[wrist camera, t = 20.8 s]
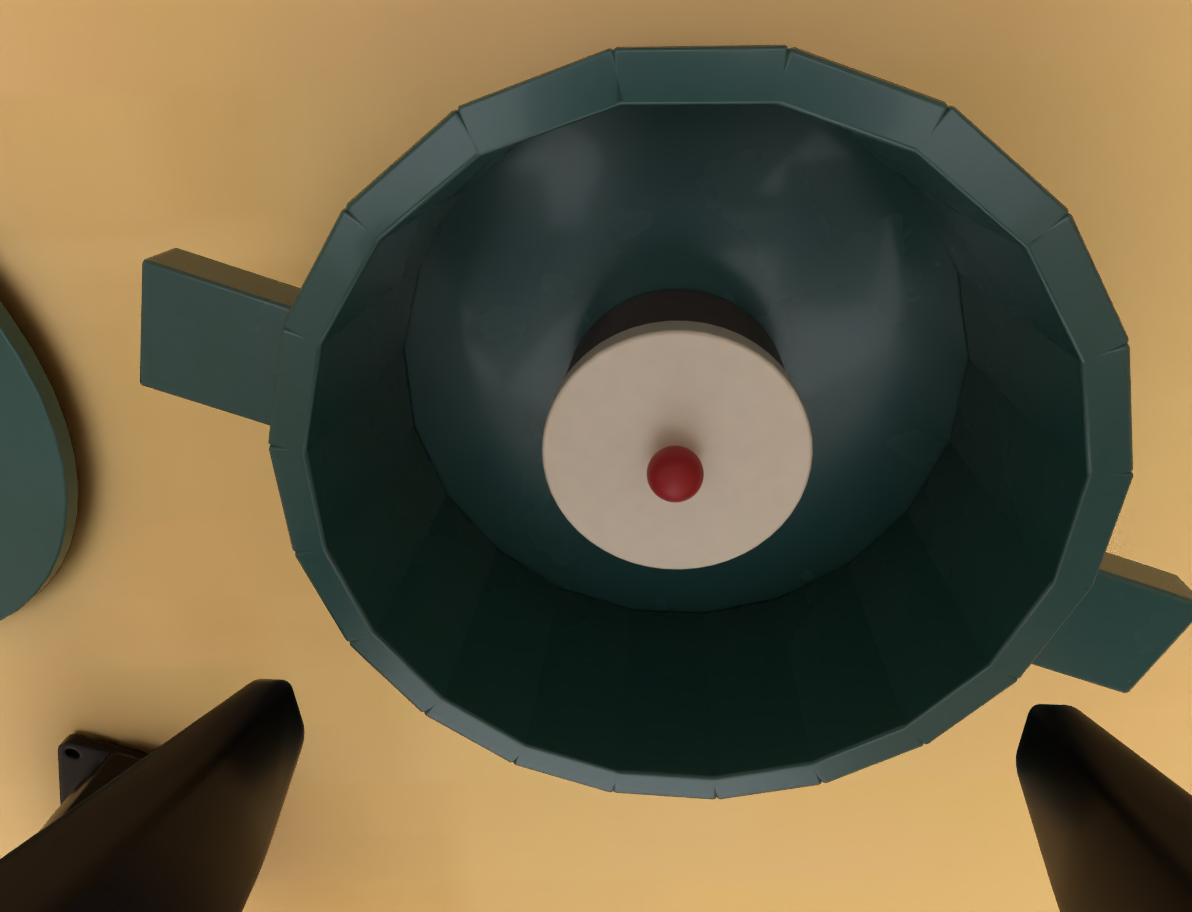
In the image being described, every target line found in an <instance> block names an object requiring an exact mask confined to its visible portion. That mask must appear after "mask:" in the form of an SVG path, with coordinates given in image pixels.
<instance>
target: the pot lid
mask: <svg viewBox="0 0 1192 912" xmlns="http://www.w3.org/2000/svg"><path fill="white" fill-rule="evenodd" d="M77 504H78V482H77V472H76V462H75V456H74V452H73V448H72V444H71V440H70V436H69V432H68V428H67V424H66V421H65V419H64V416H63V413H62V411H61V408H60V406H59V403H58V400H57V398H56V395H55V392H54V390H53V387H52V386H51V384H50V382H49V380H48V378H47V376H46V374H45V372H44V370H43V368H42V366H41V364H40V362H39V360H38V358H37V356H36V354H35V353H34V351H33V349H32V348H31V346H30V344H29V343H28V341H27V340H26V338H25V337H24V335H23V334H22V332H21V331H20V329H19V327H18V326H17V324H16V323H15V321H14V320H13V318H12V317H11V315H10V314H9V312H8V311H7V310H6V308H5V307H4V306H3V304H2V303H1V302H0V621H1V620H2V619H4V618H6V617H7V616H9V615H11V614H12V613H14V612H16V611H17V610H19V609H20V608H21V607H23V606H24V605H25V604H26V603H27V602H29V601H30V600H31V599H32V598H33V597H34V596H35V595H36V594H38V593H39V592H40V591H41V590H42V589H43V588H44V587H45V586H46V585H47V584H48V582H49V581H50V580H51V578H52V577H53V576H54V574H55V573H56V572H57V570H58V569H59V568H60V566H61V564H62V561H63V559H64V557H65V555H66V553H67V551H68V548H69V546H70V544H71V540H72V536H73V531H74V527H75V523H76V519H77Z"/></svg>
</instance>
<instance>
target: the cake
mask: <svg viewBox="0 0 1192 912" xmlns="http://www.w3.org/2000/svg"><path fill="white" fill-rule="evenodd" d="M812 456H813V441H812V433H811V427H810V422H809V419H808V416H807V413H806V410H805V407H804V404H803V402H802V399H801V397H800V394H799V392H798V390H797V389H796V387H795V385H794V383H793V381H792V379H791V378H790V377H789V375H788V374H787V373H786V371H785V369H784V366H783V363H782V360H781V358H780V355H779V352H778V350H777V348H776V347H775V345H774V343H773V341H772V339H771V338H770V336H769V335H768V334H767V332H766V331H765V330H764V328H763V327H762V326H761V325H760V324H759V323H758V322H757V321H756V320H755V319H754V318H753V317H752V316H750V315H749V314H748V313H747V312H745V311H744V310H743V309H741V308H740V307H738V306H736V305H734V304H733V303H731V302H729V301H727V300H725V299H722V298H720V297H717V296H715V295H711V294H707V293H704V292H700V291H692V290H663V291H655V292H651V293H647V294H643V295H639V296H637V297H634V298H632V299H629V300H627V301H625V302H623V303H621V304H619V305H618V306H616V307H614V308H612V309H611V310H610V311H608V312H607V313H606V314H605V315H603V316H602V317H601V318H600V319H599V320H598V321H597V322H596V323H595V324H594V325H593V326H592V327H590V329H589V330H588V331H587V333H586V334H585V335H584V337H583V338H582V339H581V341H580V343H579V345H578V346H577V348H576V350H575V352H574V355H573V357H572V360H571V362H570V365H569V368H568V371H567V374H566V376H565V378H564V379H563V381H562V383H561V384H560V386H559V388H558V390H557V391H556V394H555V396H554V399H553V401H552V404H551V406H550V409H549V412H548V415H547V418H546V422H545V427H544V431H543V440H542V460H543V467H544V472H545V477H546V480H547V483H548V486H549V489H550V491H551V494H552V496H553V498H554V499H555V501H556V503H557V505H558V507H559V508H560V510H561V511H562V513H563V514H564V515H565V517H566V518H567V520H568V521H569V522H570V523H571V524H572V525H573V526H574V527H575V528H576V529H577V531H578V532H580V533H581V534H582V535H583V536H584V537H586V538H587V539H588V540H589V541H590V542H592V543H593V544H595V545H596V546H598V547H599V548H601V549H602V550H604V551H606V552H608V553H610V554H612V555H614V556H616V557H618V558H621V559H624V560H626V561H629V562H632V563H635V564H639V565H643V566H647V567H654V568H661V569H692V568H700V567H706V566H711V565H715V564H718V563H722V562H725V561H728V560H730V559H733V558H735V557H738V556H740V555H742V554H744V553H746V552H748V551H749V550H751V549H753V548H755V547H756V546H758V545H759V544H761V543H762V542H763V541H765V540H766V539H767V538H769V537H770V536H771V535H772V534H773V533H774V532H775V531H776V530H777V529H779V528H780V527H781V526H782V524H783V523H784V522H785V521H786V520H787V518H788V517H789V516H790V515H791V513H792V512H793V510H794V508H795V507H796V505H797V504H798V502H799V500H800V499H801V496H802V494H803V492H804V490H805V487H806V485H807V482H808V478H809V474H810V471H811V464H812Z"/></svg>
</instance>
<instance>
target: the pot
mask: <svg viewBox="0 0 1192 912" xmlns="http://www.w3.org/2000/svg"><path fill="white" fill-rule="evenodd" d="M663 290H692V291H700V292H704V293H707V294H711V295H715V296H717V297H720V298H722V299H725V300H727V301H729V302H731V303H733V304H734V305H736V306H738V307H740V308H741V309H743V310H744V311H745V312H747V313H748V314H749V315H750V316H752V317H753V318H754V319H755V320H756V321H757V322H758V323H759V324H760V325H761V326H762V327H763V328H764V330H765V331H766V332H767V334H768V335H769V336H770V338H771V339H772V341H773V343H774V345H775V347H776V348H777V350H778V352H779V355H780V358H781V360H782V363H783V366H784V369H785V371H786V373H787V374H788V375H789V377H790V378H791V379H792V381H793V383H794V385H795V387H796V389H797V390H798V392H799V394H800V397H801V399H802V402H803V404H804V407H805V410H806V413H807V416H808V419H809V422H810V427H811V433H812V441H813V456H812V464H811V471H810V474H809V478H808V482H807V485H806V487H805V490H804V492H803V494H802V496H801V499H800V500H799V502H798V504H797V505H796V507H795V508H794V510H793V512H792V513H791V515H790V516H789V517H788V518H787V520H786V521H785V522H784V523H783V524H782V526H781V527H780V528H779V529H777V530H776V531H775V532H774V533H773V534H772V535H771V536H770V537H769V538H767V539H766V540H765V541H763V542H762V543H761V544H759V545H758V546H756V547H755V548H753V549H751V550H749V551H748V552H746V553H744V554H742V555H740V556H738V557H735V558H733V559H730V560H728V561H725V562H722V563H718V564H715V565H711V566H706V567H700V568H692V569H661V568H654V567H647V566H643V565H639V564H635V563H632V562H629V561H626V560H624V559H621V558H618V557H616V556H614V555H612V554H610V553H608V552H606V551H604V550H602V549H601V548H599V547H598V546H596V545H595V544H593V543H592V542H590V541H589V540H588V539H587V538H586V537H584V536H583V535H582V534H581V533H580V532H578V531H577V529H576V528H575V527H574V526H573V525H572V524H571V523H570V522H569V521H568V520H567V518H566V517H565V515H564V514H563V513H562V511H561V510H560V508H559V507H558V505H557V503H556V501H555V499H554V498H553V496H552V494H551V491H550V489H549V486H548V483H547V480H546V477H545V472H544V467H543V460H542V440H543V431H544V427H545V422H546V418H547V415H548V412H549V409H550V406H551V404H552V401H553V399H554V396H555V394H556V391H557V390H558V388H559V386H560V384H561V383H562V381H563V379H564V378H565V376H566V374H567V371H568V368H569V365H570V362H571V360H572V357H573V355H574V352H575V350H576V348H577V346H578V345H579V343H580V341H581V339H582V338H583V337H584V335H585V334H586V333H587V331H588V330H589V329H590V327H592V326H593V325H594V324H595V323H596V322H597V321H598V320H599V319H600V318H601V317H602V316H603V315H605V314H606V313H607V312H608V311H610V310H611V309H612V308H614V307H616V306H618V305H619V304H621V303H623V302H625V301H627V300H629V299H632V298H634V297H637V296H639V295H643V294H647V293H651V292H655V291H663ZM1127 342H1128V336H1127V334H1126V332H1125V330H1124V327H1123V325H1122V323H1121V321H1120V319H1119V317H1118V314H1117V312H1116V310H1115V308H1114V306H1113V304H1112V301H1111V299H1110V297H1109V295H1108V293H1107V291H1106V288H1105V286H1104V284H1103V282H1102V280H1101V278H1100V275H1099V273H1098V271H1097V269H1096V267H1095V265H1094V262H1093V260H1092V258H1091V256H1090V254H1089V252H1088V250H1087V247H1086V245H1085V243H1084V241H1083V239H1082V237H1081V234H1080V232H1079V230H1078V228H1077V226H1076V224H1075V221H1074V219H1073V217H1072V215H1071V214H1069V213H1068V209H1067V208H1066V207H1065V206H1064V205H1063V204H1062V203H1061V202H1060V201H1059V200H1058V199H1056V198H1055V197H1054V196H1053V195H1052V194H1051V193H1050V192H1049V191H1048V190H1046V189H1045V188H1044V187H1043V186H1042V185H1041V184H1040V183H1039V182H1038V181H1036V180H1035V179H1034V178H1033V177H1032V176H1031V175H1030V174H1029V173H1027V172H1026V171H1025V170H1024V169H1023V168H1022V167H1021V166H1020V165H1019V164H1017V163H1016V162H1015V161H1014V160H1013V159H1012V158H1011V157H1010V156H1009V155H1007V154H1006V153H1005V152H1004V151H1003V150H1002V149H1001V148H1000V147H999V146H997V145H996V144H995V143H994V142H993V141H992V140H991V139H990V138H989V137H987V136H986V135H985V134H984V133H983V132H982V131H981V130H980V129H979V128H977V127H976V126H975V125H974V124H973V123H972V122H971V121H970V120H969V119H967V118H966V117H965V116H964V115H963V114H962V113H961V112H960V111H959V110H957V109H956V108H955V107H953V106H948V105H947V104H946V103H945V102H944V101H941V100H938V99H936V98H933V97H930V96H927V95H925V94H922V93H919V92H916V91H914V90H911V89H908V88H905V87H903V86H900V85H897V84H894V83H892V82H889V81H886V80H883V79H881V78H878V77H875V76H872V75H870V74H867V73H864V72H861V71H859V70H856V69H853V68H850V67H848V66H845V65H842V64H839V63H837V62H834V61H831V60H828V59H826V58H823V57H820V56H817V55H815V54H812V53H809V52H806V51H804V50H801V49H798V48H795V47H793V48H788V47H787V46H785V45H745V46H664V47H616V48H614V49H607V50H604V51H601V52H599V53H596V54H594V55H591V56H588V57H586V58H583V59H581V60H578V61H575V62H573V63H570V64H567V65H565V66H562V67H560V68H557V69H554V70H552V71H549V72H547V73H544V74H541V75H539V76H536V77H533V78H531V79H528V80H526V81H523V82H520V83H518V84H515V85H513V86H510V87H507V88H505V89H502V90H499V91H497V92H494V93H492V94H489V95H486V96H484V97H481V98H479V99H476V100H473V101H471V102H468V103H465V104H463V105H460V106H459V107H458V110H454V111H452V112H451V113H449V114H448V115H447V116H446V117H445V118H444V119H443V120H441V121H440V122H439V123H438V124H437V125H436V126H435V127H434V128H432V129H431V130H430V131H429V132H428V133H427V134H426V135H424V136H423V137H422V138H421V139H420V140H419V141H418V142H417V143H415V144H414V145H413V146H412V147H411V148H410V149H409V150H407V151H406V152H405V153H404V154H403V155H402V156H401V157H400V158H398V159H397V160H396V161H395V162H394V163H393V164H392V165H390V166H389V167H388V168H387V169H386V170H385V171H384V172H383V173H381V174H380V175H379V176H378V177H377V178H376V179H375V180H373V181H372V182H371V183H370V184H369V185H368V186H367V187H366V188H364V189H363V190H362V191H361V192H360V193H359V194H358V195H356V196H355V197H354V198H353V199H352V200H351V201H350V202H349V203H348V204H347V206H346V208H345V209H343V210H342V211H341V213H340V214H339V216H338V218H337V220H336V222H335V224H334V226H333V228H332V230H331V232H330V234H329V236H328V238H327V239H326V241H325V243H324V245H323V247H322V249H321V251H320V253H319V255H318V257H317V259H316V261H315V262H314V264H313V266H312V268H311V270H310V272H309V274H308V276H307V278H306V280H305V282H304V284H303V285H302V287H301V288H297V287H294V286H291V285H288V284H285V283H282V282H279V281H276V280H273V279H270V278H267V277H264V276H261V275H258V274H255V273H252V272H249V271H245V270H242V269H239V268H236V267H233V266H230V265H227V264H224V263H221V262H218V261H215V260H212V259H209V258H206V257H203V256H200V255H196V254H193V253H190V252H187V251H184V250H181V249H178V248H174V249H171V250H168V251H166V252H163V253H160V254H158V255H155V256H153V257H150V258H147V259H145V260H144V261H143V263H142V311H141V359H140V383H141V384H142V385H143V386H147V387H150V388H153V389H156V390H159V391H162V392H166V393H169V394H172V395H175V396H178V397H182V398H185V399H188V400H191V401H194V402H197V403H201V404H204V405H207V406H210V407H213V408H217V409H220V410H223V411H226V412H229V413H233V414H236V415H239V416H242V417H245V418H248V419H252V420H255V421H258V422H261V423H264V424H268V425H270V433H269V444H270V448H269V451H270V455H271V459H272V463H273V468H274V472H275V476H276V480H277V485H278V489H279V493H280V497H281V502H282V506H283V510H284V514H285V519H286V523H287V527H288V531H289V536H290V540H291V544H292V548H293V550H294V551H295V555H296V558H297V559H298V561H299V563H300V564H301V566H302V568H303V569H304V571H305V573H306V574H307V576H308V578H309V579H310V581H311V583H312V584H313V586H314V588H315V589H316V591H317V592H318V594H319V596H320V597H321V599H322V601H323V602H324V604H325V606H326V607H327V609H328V611H329V612H330V614H331V616H332V617H333V619H334V621H335V622H336V624H337V626H338V627H339V629H340V631H341V632H342V634H343V636H344V637H345V639H346V640H347V641H349V642H350V645H351V646H352V647H353V648H354V649H355V650H356V651H357V652H358V653H359V654H360V655H361V656H362V657H363V658H364V659H365V660H367V661H368V662H369V663H370V664H371V665H372V666H373V667H374V668H375V669H376V670H377V671H378V672H379V673H380V674H381V675H383V676H384V677H385V678H386V679H387V680H388V681H389V682H390V683H391V684H392V685H393V686H394V687H395V688H396V689H398V690H399V691H400V692H401V693H402V694H403V695H404V696H405V697H406V698H407V699H408V700H409V701H410V702H411V703H412V704H414V705H415V706H416V707H417V708H418V709H419V710H420V711H421V712H425V715H426V716H428V717H430V718H432V719H433V720H435V721H437V722H439V723H441V724H442V725H444V726H446V727H448V728H450V729H451V730H453V731H455V732H457V733H459V734H460V735H462V736H464V737H466V738H468V739H469V740H471V741H473V742H475V743H477V744H478V745H480V746H482V747H484V748H486V749H487V750H489V751H491V752H493V753H495V754H496V755H498V756H500V757H502V758H504V759H505V760H507V761H509V762H514V764H515V765H518V766H522V767H525V768H528V769H532V770H535V771H539V772H542V773H546V774H549V775H553V776H556V777H559V778H563V779H566V780H570V781H573V782H577V783H580V784H584V785H587V786H590V787H594V788H597V789H601V790H604V791H608V792H612V791H614V792H616V793H629V794H643V795H658V796H672V797H687V798H701V799H716V797H717V798H718V799H724V798H731V797H738V796H745V795H752V794H758V793H765V792H772V791H779V790H786V789H793V788H800V787H806V786H813V785H819V784H821V782H823V783H827V782H830V781H833V780H835V779H838V778H840V777H843V776H845V775H848V774H851V773H853V772H856V771H858V770H861V769H864V768H866V767H869V766H871V765H874V764H877V763H879V762H882V761H884V760H887V759H889V758H892V757H895V756H897V755H900V754H902V753H905V752H908V751H910V750H913V749H915V748H918V747H921V746H922V745H923V744H928V743H930V742H931V741H933V740H934V739H935V738H937V737H938V736H940V735H941V734H942V733H944V732H945V731H947V730H948V729H950V728H951V727H952V726H954V725H955V724H957V723H958V722H960V721H961V720H962V719H964V718H965V717H967V716H968V715H969V714H971V713H972V712H974V711H975V710H977V709H978V708H979V707H981V706H982V705H984V704H985V703H987V702H988V701H989V700H991V699H992V698H994V697H995V696H996V695H998V694H999V693H1001V692H1002V691H1004V690H1005V689H1006V688H1008V687H1009V686H1011V685H1012V684H1013V683H1015V682H1016V681H1017V678H1020V677H1021V676H1022V674H1023V673H1024V672H1025V671H1026V669H1027V668H1028V667H1029V666H1030V664H1034V665H1037V666H1040V667H1043V668H1046V669H1049V670H1053V671H1056V672H1059V673H1062V674H1065V675H1069V676H1072V677H1075V678H1078V679H1081V680H1084V681H1088V682H1091V683H1094V684H1097V685H1100V686H1104V687H1107V688H1110V689H1113V690H1116V691H1120V692H1123V693H1127V692H1129V691H1130V690H1131V689H1132V688H1133V687H1134V686H1135V685H1136V683H1137V682H1138V681H1139V680H1140V679H1141V678H1142V677H1143V676H1144V675H1145V674H1146V672H1147V671H1148V670H1149V669H1150V668H1151V667H1152V666H1153V665H1154V664H1155V663H1156V661H1157V660H1158V659H1159V658H1160V657H1161V656H1162V655H1163V654H1164V653H1165V652H1166V651H1167V649H1168V648H1169V647H1170V646H1171V645H1172V644H1173V643H1174V642H1175V641H1176V640H1177V638H1178V637H1179V636H1180V635H1181V634H1182V633H1183V632H1184V631H1185V630H1186V629H1187V627H1188V626H1189V625H1190V624H1191V623H1192V590H1191V589H1190V588H1189V587H1188V586H1187V585H1186V584H1185V583H1184V582H1183V581H1182V580H1181V579H1180V578H1179V577H1178V576H1177V575H1174V574H1171V573H1168V572H1165V571H1162V570H1159V569H1156V568H1153V567H1150V566H1147V565H1144V564H1141V563H1138V562H1135V561H1131V560H1128V559H1125V558H1122V557H1119V556H1116V555H1113V554H1110V553H1107V552H1106V549H1107V546H1108V543H1109V541H1110V538H1111V535H1112V532H1113V530H1114V527H1115V524H1116V522H1117V519H1118V516H1119V513H1120V511H1121V508H1122V505H1123V502H1124V500H1125V497H1126V494H1127V491H1128V489H1129V486H1130V483H1131V480H1132V478H1133V473H1132V472H1131V471H1132V470H1133V456H1132V418H1131V380H1130V347H1129V345H1128V343H1127Z"/></svg>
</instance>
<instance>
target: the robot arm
mask: <svg viewBox="0 0 1192 912" xmlns="http://www.w3.org/2000/svg"><path fill="white" fill-rule="evenodd" d="M303 741H304V725H303V721H302V718H301V714H300V711H299V708H298V704H297V701H296V698H295V695H294V691H293V688H292V686H291V685H290V683H289V682H287V681H285V680H275V679H258V680H255V681H253V682H251V683H249V684H248V685H246V686H245V687H243V688H242V689H241V690H239V691H238V692H236V693H235V694H233V695H232V696H231V697H229V698H228V699H226V700H225V701H224V702H222V703H221V704H219V705H218V706H216V707H215V708H214V709H212V710H211V711H209V712H208V713H207V714H205V715H204V716H202V717H201V718H199V719H198V720H197V721H195V722H194V723H192V724H191V725H190V726H188V727H187V728H185V729H184V730H182V731H181V732H180V733H178V734H177V735H175V736H174V737H173V738H171V739H170V740H168V741H167V742H165V743H164V744H163V745H161V746H160V747H158V748H157V749H156V750H154V751H153V752H151V753H150V754H147V753H143V752H140V751H136V750H133V749H129V748H125V747H122V746H118V745H115V744H111V743H108V742H104V741H101V740H97V739H94V738H90V737H86V736H83V735H79V734H71V735H69V736H68V737H67V738H66V739H65V740H64V741H63V742H62V743H61V744H60V745H59V747H58V761H59V781H60V801H61V805H60V807H59V808H58V809H57V810H56V812H55V813H54V814H53V815H52V816H51V818H50V819H49V820H48V821H47V823H46V824H45V825H44V826H43V827H42V829H41V830H40V831H39V832H38V833H37V834H35V835H34V836H32V837H31V838H29V839H28V840H27V841H25V842H24V843H22V844H21V845H20V846H18V847H17V848H15V849H14V850H12V851H11V852H10V853H8V854H7V855H5V856H4V857H3V858H1V859H0V912H242V910H243V908H244V906H245V904H246V901H247V899H248V897H249V895H250V892H251V890H252V888H253V886H254V883H255V881H256V879H257V876H258V874H259V871H260V869H261V867H262V864H263V862H264V859H265V856H266V853H267V851H268V848H269V845H270V842H271V839H272V836H273V833H274V830H275V827H276V824H277V821H278V818H279V815H280V812H281V809H282V806H283V803H284V800H285V797H286V794H287V791H288V788H289V785H290V782H291V779H292V776H293V773H294V770H295V767H296V764H297V761H298V758H299V755H300V752H301V749H302V745H303ZM1016 768H1017V773H1018V777H1019V780H1020V784H1021V787H1022V790H1023V794H1024V797H1025V800H1026V803H1027V807H1028V810H1029V813H1030V817H1031V820H1032V823H1033V827H1034V830H1035V833H1036V836H1037V840H1038V843H1039V846H1040V850H1041V853H1042V856H1043V860H1044V863H1045V866H1046V869H1047V873H1048V876H1049V879H1050V883H1051V886H1052V889H1053V892H1054V895H1055V898H1056V901H1057V904H1058V907H1059V910H1060V912H1192V795H1190V794H1189V793H1188V792H1186V791H1185V790H1184V789H1182V788H1181V787H1180V786H1178V785H1177V784H1176V783H1174V782H1173V781H1172V780H1171V779H1169V778H1168V777H1167V776H1165V775H1164V774H1163V773H1161V772H1160V771H1159V770H1157V769H1156V768H1155V767H1153V766H1152V765H1151V764H1149V763H1148V762H1147V761H1145V760H1144V759H1143V758H1141V757H1140V756H1139V755H1137V754H1136V753H1135V752H1134V751H1132V750H1131V749H1130V748H1128V747H1127V746H1126V745H1124V744H1123V743H1122V742H1120V741H1119V740H1118V739H1116V738H1115V737H1114V736H1112V735H1111V734H1110V733H1108V732H1107V731H1106V730H1104V729H1103V728H1102V727H1100V726H1099V725H1098V724H1097V723H1095V722H1094V721H1093V720H1091V719H1090V718H1089V717H1087V716H1086V715H1085V714H1083V713H1082V712H1081V711H1079V710H1078V709H1076V708H1074V707H1072V706H1068V705H1049V704H1038V705H1035V706H1033V707H1032V708H1031V709H1030V711H1029V713H1028V716H1027V720H1026V723H1025V726H1024V730H1023V733H1022V736H1021V740H1020V743H1019V746H1018V749H1017V754H1016Z"/></svg>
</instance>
